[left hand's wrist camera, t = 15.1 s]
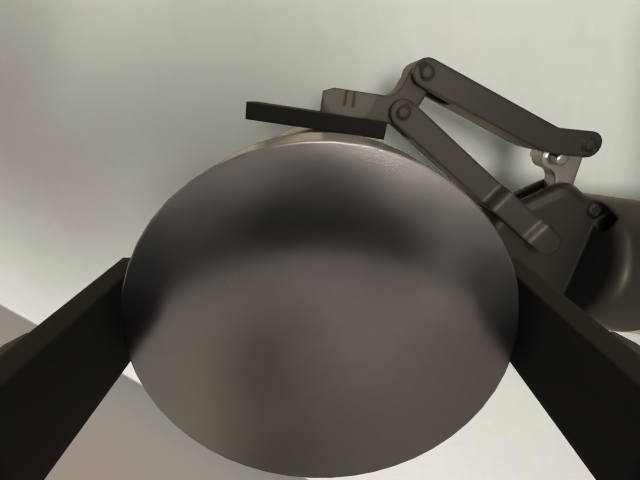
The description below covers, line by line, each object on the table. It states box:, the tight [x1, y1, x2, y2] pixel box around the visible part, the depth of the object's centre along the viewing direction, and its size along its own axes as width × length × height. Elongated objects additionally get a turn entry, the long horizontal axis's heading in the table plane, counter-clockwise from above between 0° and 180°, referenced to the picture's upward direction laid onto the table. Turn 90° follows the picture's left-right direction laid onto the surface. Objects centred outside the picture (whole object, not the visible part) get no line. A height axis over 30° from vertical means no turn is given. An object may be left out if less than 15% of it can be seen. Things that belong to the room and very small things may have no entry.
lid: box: [121, 132, 520, 478], centre depth 11 cm, size 11×11×2 cm
